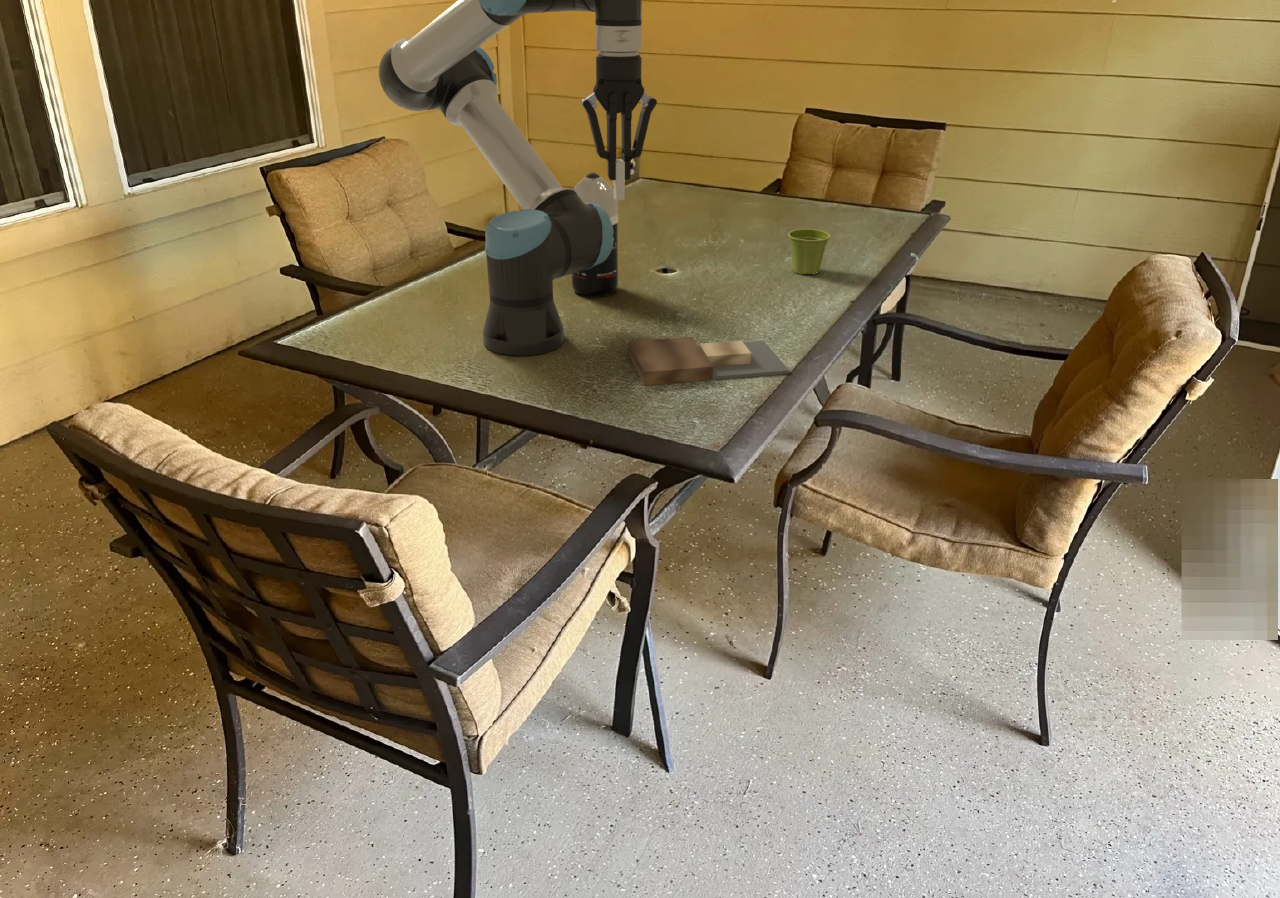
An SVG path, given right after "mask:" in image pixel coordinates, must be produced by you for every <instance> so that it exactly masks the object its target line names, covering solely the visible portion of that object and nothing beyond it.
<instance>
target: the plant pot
mask: <svg viewBox="0 0 1280 898" xmlns="http://www.w3.org/2000/svg"><path fill="white" fill-rule="evenodd" d="M787 236H788V238H789V243H790V247H791V263H792V264H791V267H792V272H793V271H794V272H793V273H795V274H797V273H798V274H797V275H800V274H804V275H806V274H807V275H809V274H813V273H816V272H818V271H819V272H820V270H821V265H822V262H823V258H824V257H823V256H824V254H825V250H826V246H827V244H828V241H829V239H830V238H831V234H830V233H829V232H827V231H823V230H820V229H814V228H812V229H811V228H801V229H793V230H791V231H788V234H787Z"/></svg>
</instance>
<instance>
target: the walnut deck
mask: <svg viewBox="0 0 1280 898" xmlns="http://www.w3.org/2000/svg"><path fill="white" fill-rule="evenodd" d="M627 355H628V357H629V359H630V361H631V363H632V365H633V367H634V368H635V370H636V372H637V373H638V376H639V378H640V380H641V382H642V383H643V385H644V386H654V385H667V384H678V383H679V384H680V383H681V384H682V383H689V382H690V383H692V382H703V381H713V380H712V377H713V366H712V364H711V363H710V362H709V360H708V359H707V357H706V356H705V354H704V353H703V352H702V350H701V349H700V347H699V344H698V343H697V341H695V339H694V338H693V336H681V337H668V338H656V339H655V338H653V339H643V340H642V339H641V340H640V339H639V340H629V341H627Z"/></svg>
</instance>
